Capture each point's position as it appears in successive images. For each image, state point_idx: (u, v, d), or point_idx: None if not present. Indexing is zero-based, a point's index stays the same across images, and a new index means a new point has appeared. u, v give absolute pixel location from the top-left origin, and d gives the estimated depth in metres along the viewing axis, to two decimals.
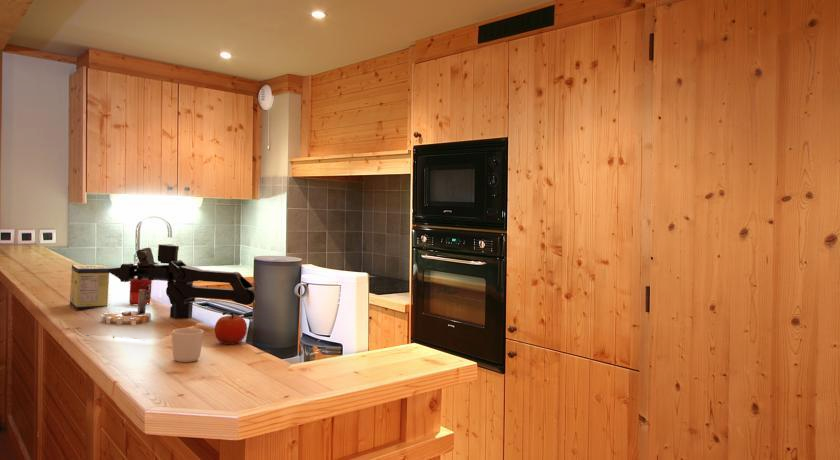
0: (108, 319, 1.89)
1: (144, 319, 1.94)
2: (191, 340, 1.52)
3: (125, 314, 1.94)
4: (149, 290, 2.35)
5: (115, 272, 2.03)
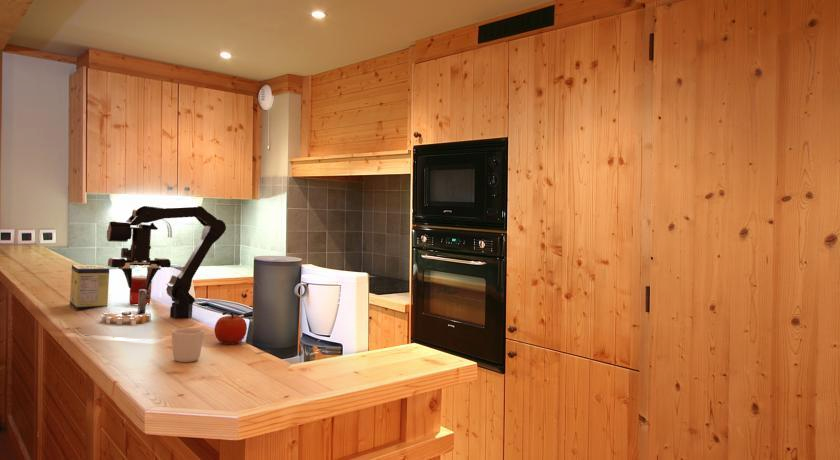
0: (108, 319, 1.89)
1: (144, 319, 1.94)
2: (191, 340, 1.52)
3: (125, 314, 1.94)
4: (149, 290, 2.35)
5: (127, 278, 1.96)
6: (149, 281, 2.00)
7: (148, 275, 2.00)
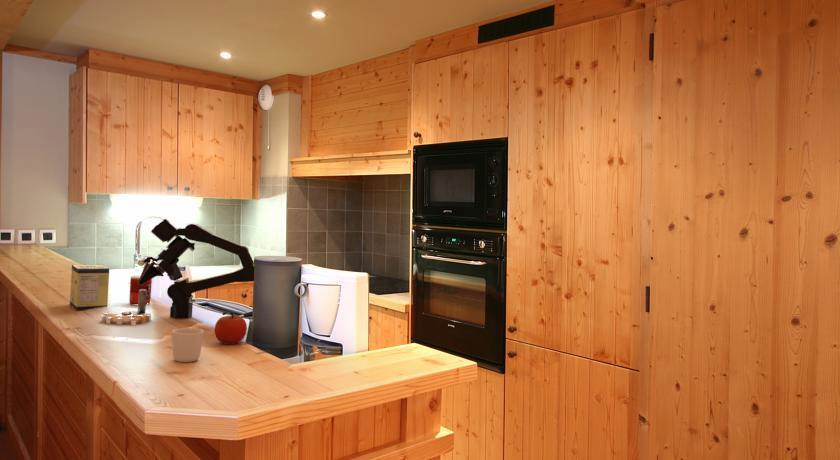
0: (108, 319, 1.89)
1: (144, 319, 1.94)
2: (191, 340, 1.52)
3: (125, 314, 1.94)
4: (149, 290, 2.35)
5: None
6: (142, 276, 1.99)
7: None
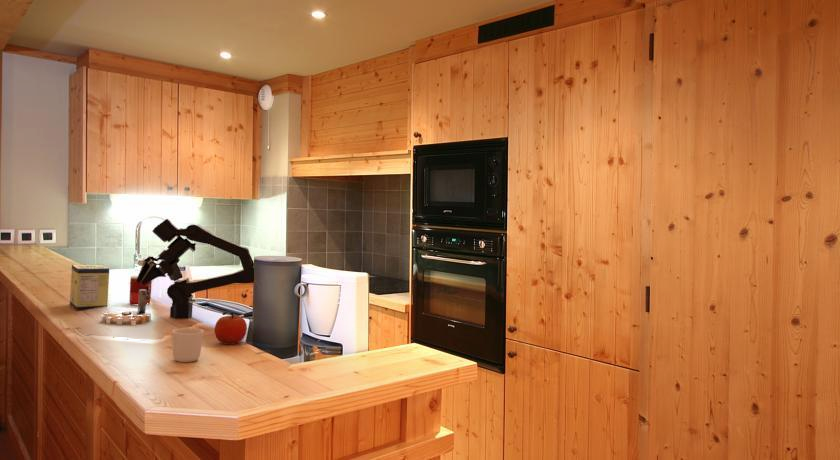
0: (108, 319, 1.89)
1: (144, 319, 1.94)
2: (191, 340, 1.52)
3: (125, 314, 1.94)
4: (149, 290, 2.35)
5: None
6: (144, 276, 1.97)
7: None
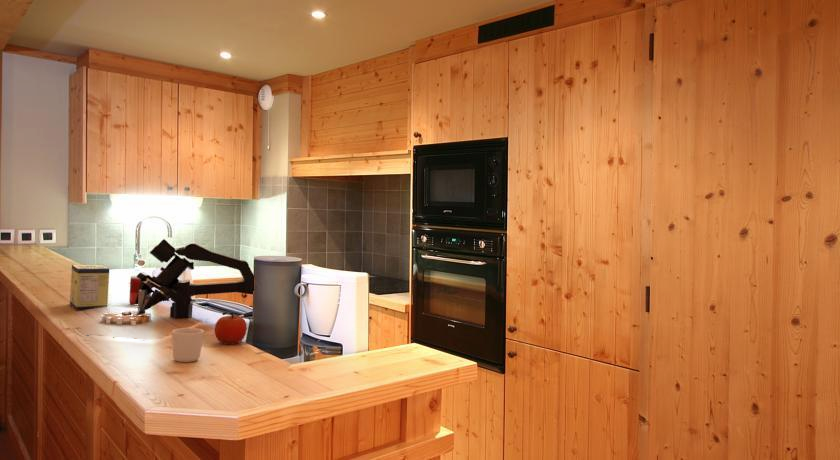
0: (108, 319, 1.89)
1: (144, 319, 1.94)
2: (191, 340, 1.52)
3: (125, 314, 1.94)
4: None
5: None
6: (148, 302, 1.98)
7: None
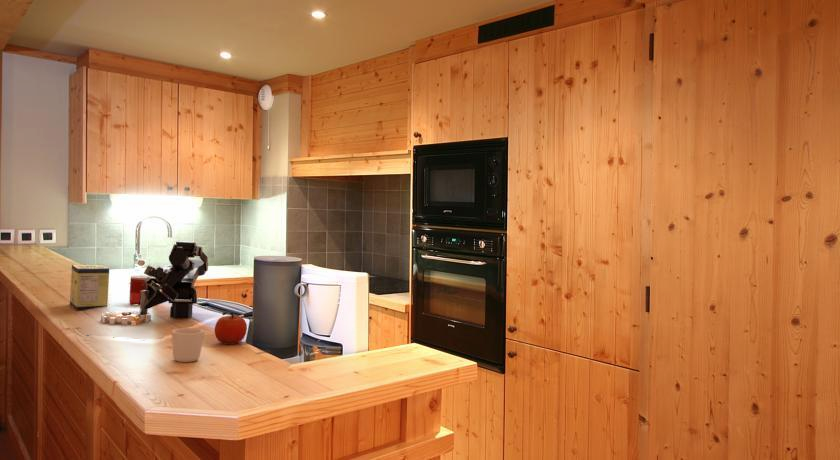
0: (103, 318, 1.90)
1: (138, 320, 1.92)
2: (191, 340, 1.52)
3: (124, 314, 1.94)
4: None
5: (154, 302, 1.95)
6: None
7: (149, 296, 2.02)
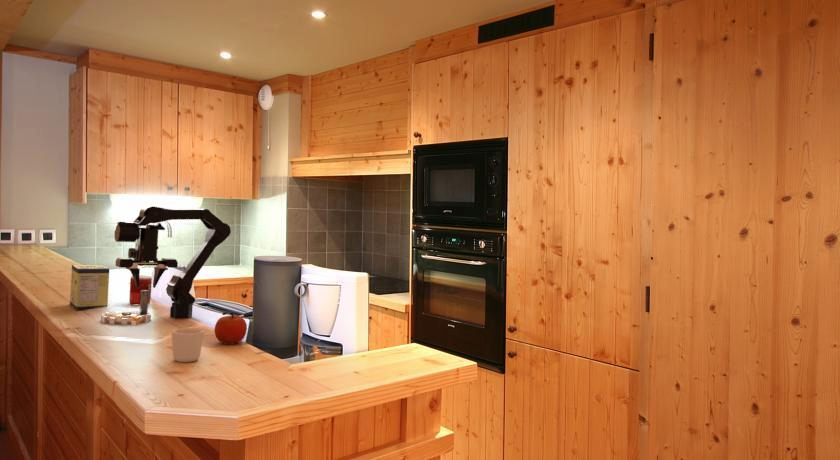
0: (103, 318, 1.90)
1: (138, 320, 1.92)
2: (191, 340, 1.52)
3: (123, 314, 1.94)
4: (149, 290, 2.35)
5: (134, 278, 1.97)
6: (156, 281, 2.00)
7: (155, 275, 2.01)
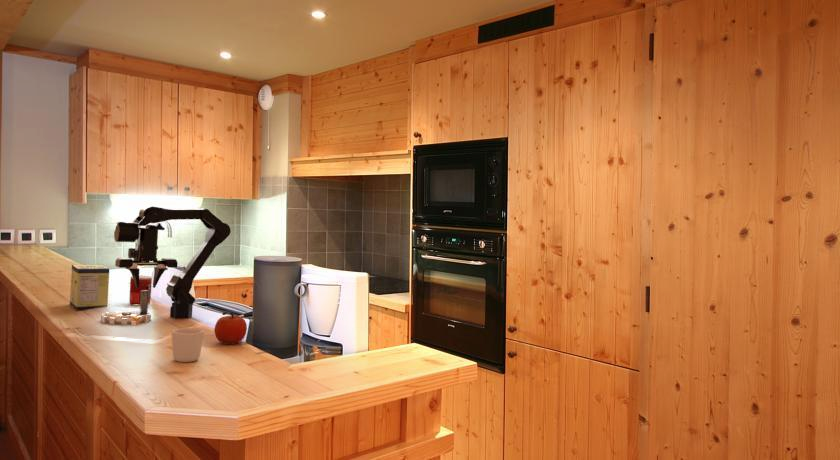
0: (103, 318, 1.90)
1: (138, 320, 1.92)
2: (191, 340, 1.52)
3: (123, 314, 1.94)
4: (149, 290, 2.35)
5: (134, 278, 1.97)
6: (156, 281, 2.01)
7: (155, 275, 2.01)
